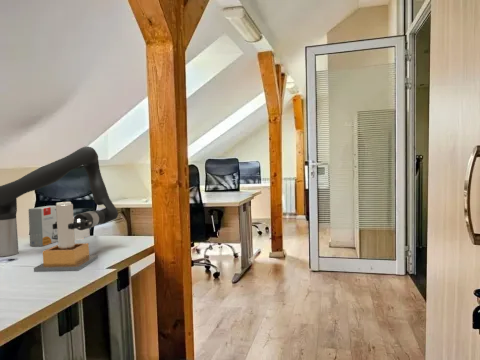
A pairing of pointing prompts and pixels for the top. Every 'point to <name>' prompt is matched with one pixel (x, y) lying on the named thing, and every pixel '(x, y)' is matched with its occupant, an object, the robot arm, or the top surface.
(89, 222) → the robot arm
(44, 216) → the hard drive box
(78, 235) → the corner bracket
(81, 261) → the dock
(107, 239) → the top surface
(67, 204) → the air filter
